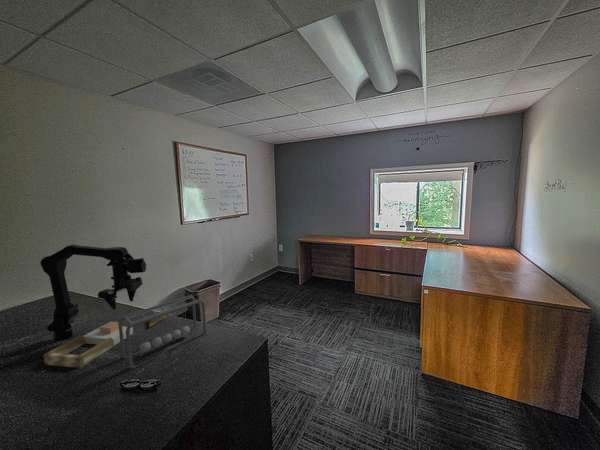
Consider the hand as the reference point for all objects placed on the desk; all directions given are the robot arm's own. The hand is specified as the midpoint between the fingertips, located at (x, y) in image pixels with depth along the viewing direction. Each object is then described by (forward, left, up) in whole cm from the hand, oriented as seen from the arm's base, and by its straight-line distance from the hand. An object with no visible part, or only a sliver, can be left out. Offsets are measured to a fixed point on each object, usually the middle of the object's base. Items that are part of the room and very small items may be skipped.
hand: (123, 305), depth 117 cm
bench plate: (-1, -8, -12) cm, 14 cm away
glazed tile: (-1, -6, -9) cm, 11 cm away
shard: (+14, +6, -13) cm, 20 cm away
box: (-1, -20, -12) cm, 23 cm away
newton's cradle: (+31, -11, -12) cm, 35 cm away
